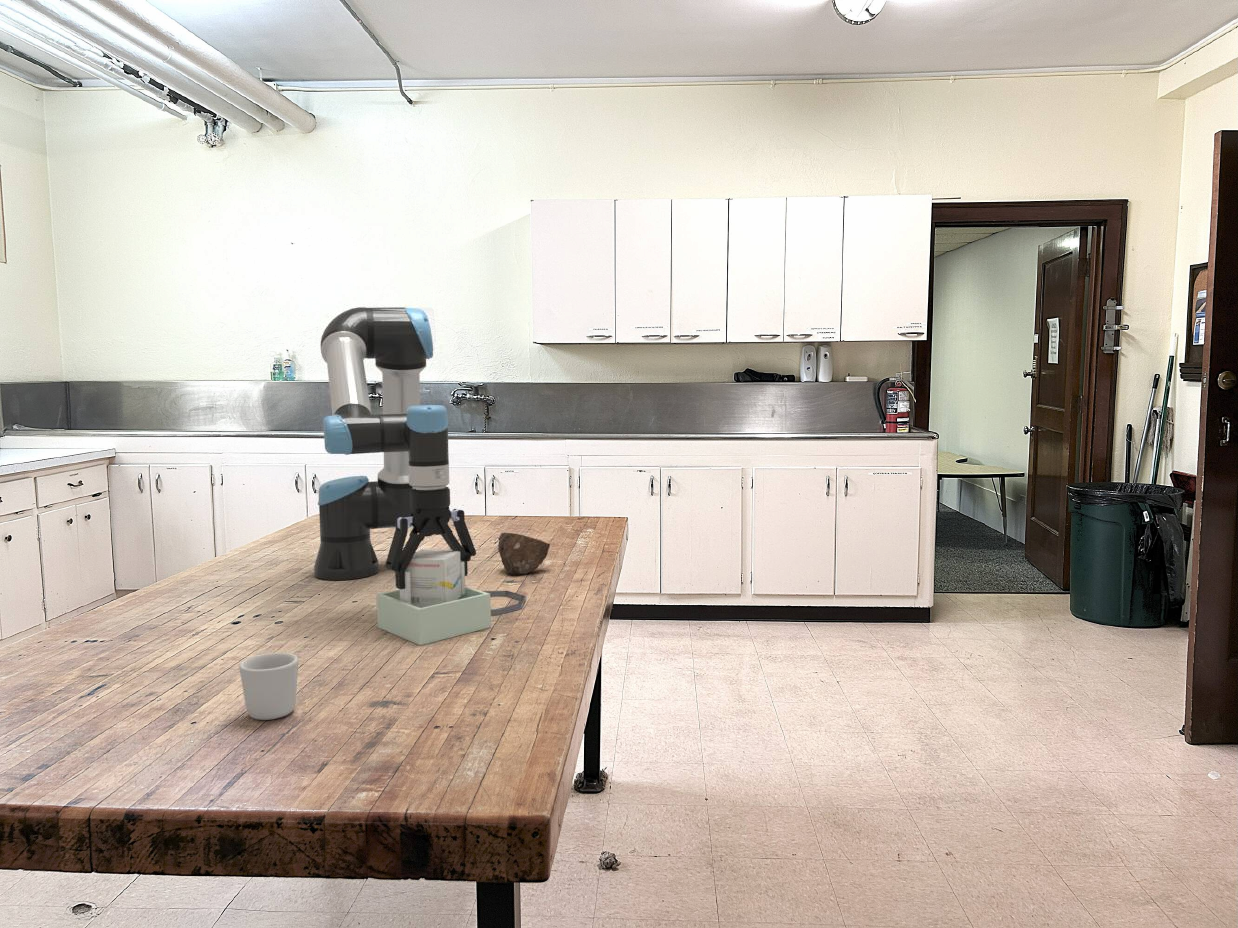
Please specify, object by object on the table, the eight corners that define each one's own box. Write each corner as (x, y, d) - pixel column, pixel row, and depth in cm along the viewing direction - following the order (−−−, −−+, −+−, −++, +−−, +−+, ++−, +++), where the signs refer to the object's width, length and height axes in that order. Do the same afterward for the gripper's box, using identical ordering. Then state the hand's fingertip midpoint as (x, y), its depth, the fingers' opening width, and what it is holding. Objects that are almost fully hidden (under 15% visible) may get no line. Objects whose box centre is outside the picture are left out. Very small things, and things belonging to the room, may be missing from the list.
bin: (377, 627, 171) (376, 593, 170) (446, 611, 182) (445, 579, 181) (420, 645, 160) (418, 609, 159) (491, 627, 170) (490, 593, 170)
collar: (434, 604, 187) (434, 600, 187) (495, 591, 197) (495, 586, 197) (477, 619, 175) (477, 614, 175) (538, 604, 186) (538, 600, 186)
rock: (549, 548, 220) (551, 532, 211) (540, 586, 215) (541, 571, 206) (501, 536, 220) (501, 520, 211) (490, 574, 215) (490, 559, 206)
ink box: (463, 608, 174) (461, 549, 172) (446, 620, 166) (444, 559, 164) (422, 605, 175) (420, 547, 174) (403, 617, 167) (401, 557, 166)
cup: (258, 697, 135) (255, 646, 134) (311, 695, 136) (309, 645, 135) (234, 726, 125) (230, 671, 124) (292, 723, 125) (289, 669, 124)
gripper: (383, 495, 157) (387, 615, 159) (492, 482, 173) (495, 591, 176) (362, 491, 162) (367, 607, 165) (470, 478, 178) (473, 584, 181)
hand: (433, 599), depth 170 cm, fingers closed on ink box, 11 cm apart
